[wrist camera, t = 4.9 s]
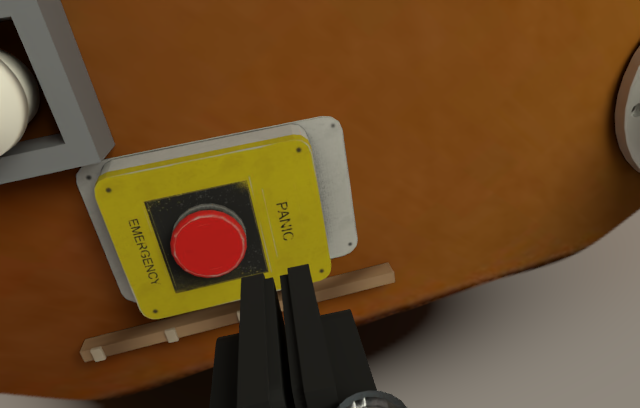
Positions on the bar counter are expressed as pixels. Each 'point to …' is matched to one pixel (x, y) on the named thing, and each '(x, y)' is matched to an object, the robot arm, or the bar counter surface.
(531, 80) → the bar counter surface
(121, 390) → the bar counter surface
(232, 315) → the rail
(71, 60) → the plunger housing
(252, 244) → the emergency button
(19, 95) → the plunger
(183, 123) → the bar counter surface
